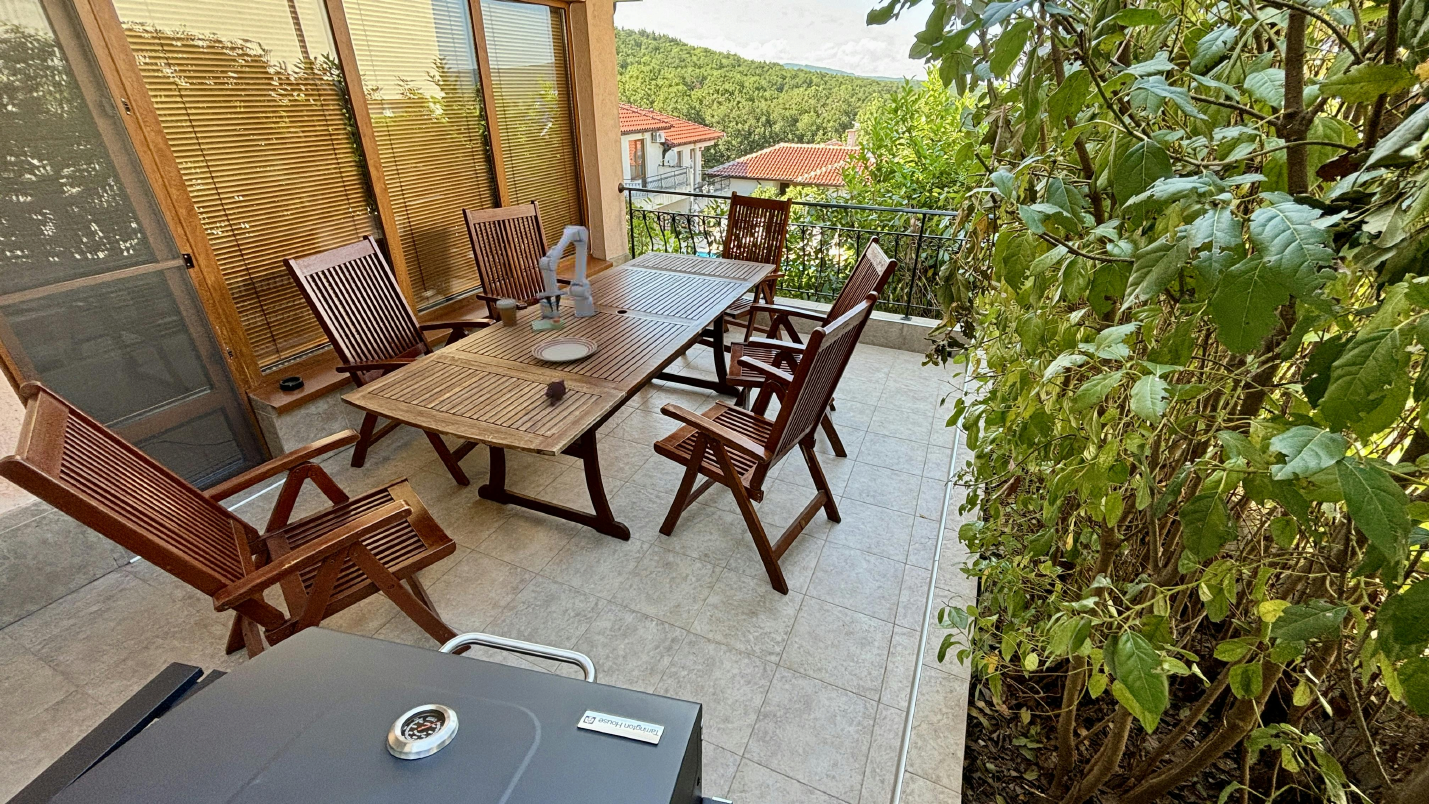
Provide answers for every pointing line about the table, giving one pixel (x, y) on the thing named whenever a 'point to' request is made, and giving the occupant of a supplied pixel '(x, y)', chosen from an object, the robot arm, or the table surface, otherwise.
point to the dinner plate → (564, 349)
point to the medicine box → (548, 309)
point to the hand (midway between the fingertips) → (555, 310)
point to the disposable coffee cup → (507, 312)
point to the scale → (546, 325)
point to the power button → (556, 320)
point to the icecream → (555, 391)
